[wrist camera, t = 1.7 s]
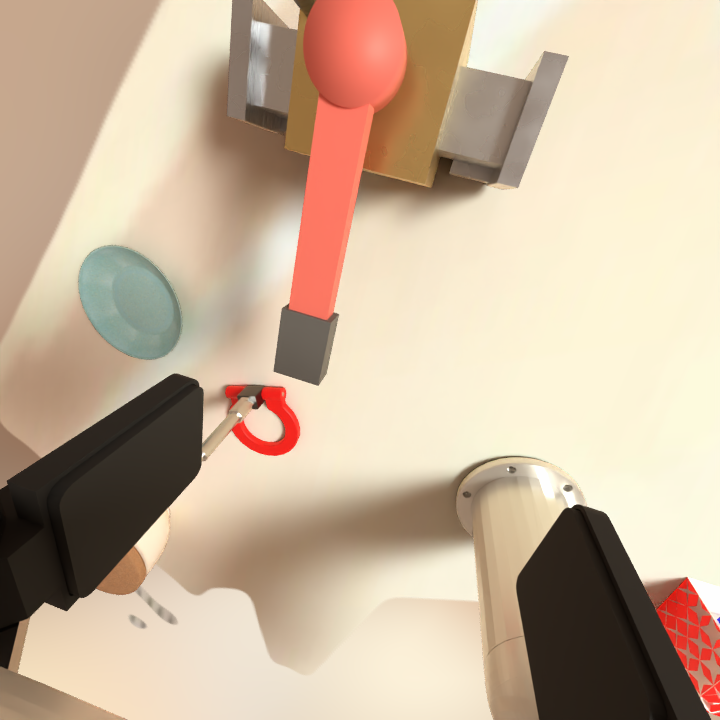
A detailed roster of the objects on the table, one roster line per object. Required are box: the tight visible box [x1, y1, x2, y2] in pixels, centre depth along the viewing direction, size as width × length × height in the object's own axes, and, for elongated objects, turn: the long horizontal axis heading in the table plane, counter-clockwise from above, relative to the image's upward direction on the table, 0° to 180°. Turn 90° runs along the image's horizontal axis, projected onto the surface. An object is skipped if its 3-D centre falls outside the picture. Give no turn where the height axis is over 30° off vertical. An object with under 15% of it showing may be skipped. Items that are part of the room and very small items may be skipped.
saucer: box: [78, 245, 182, 360], centre depth 37 cm, size 12×12×2 cm
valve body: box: [227, 0, 569, 190], centre depth 21 cm, size 18×8×14 cm, turn 77°
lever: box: [274, 0, 407, 385], centre depth 18 cm, size 18×4×2 cm, turn 167°
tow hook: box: [202, 386, 300, 461], centre depth 36 cm, size 8×13×9 cm
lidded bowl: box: [96, 507, 170, 595], centre depth 48 cm, size 13×13×11 cm
